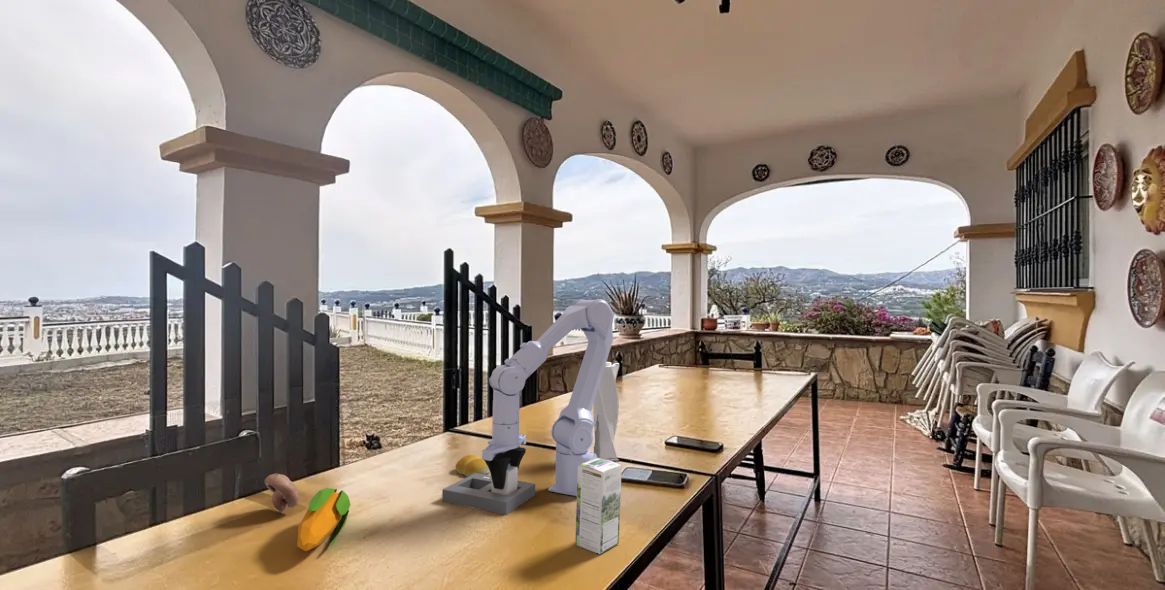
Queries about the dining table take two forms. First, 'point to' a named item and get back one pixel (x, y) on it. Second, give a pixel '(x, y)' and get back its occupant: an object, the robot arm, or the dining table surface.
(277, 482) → the mushroom
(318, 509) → the corn
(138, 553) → the dining table surface
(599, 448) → the skyscraper
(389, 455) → the dining table surface
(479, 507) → the port panel
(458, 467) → the bread roll
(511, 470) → the plug
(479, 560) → the dining table surface
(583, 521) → the syrup box
